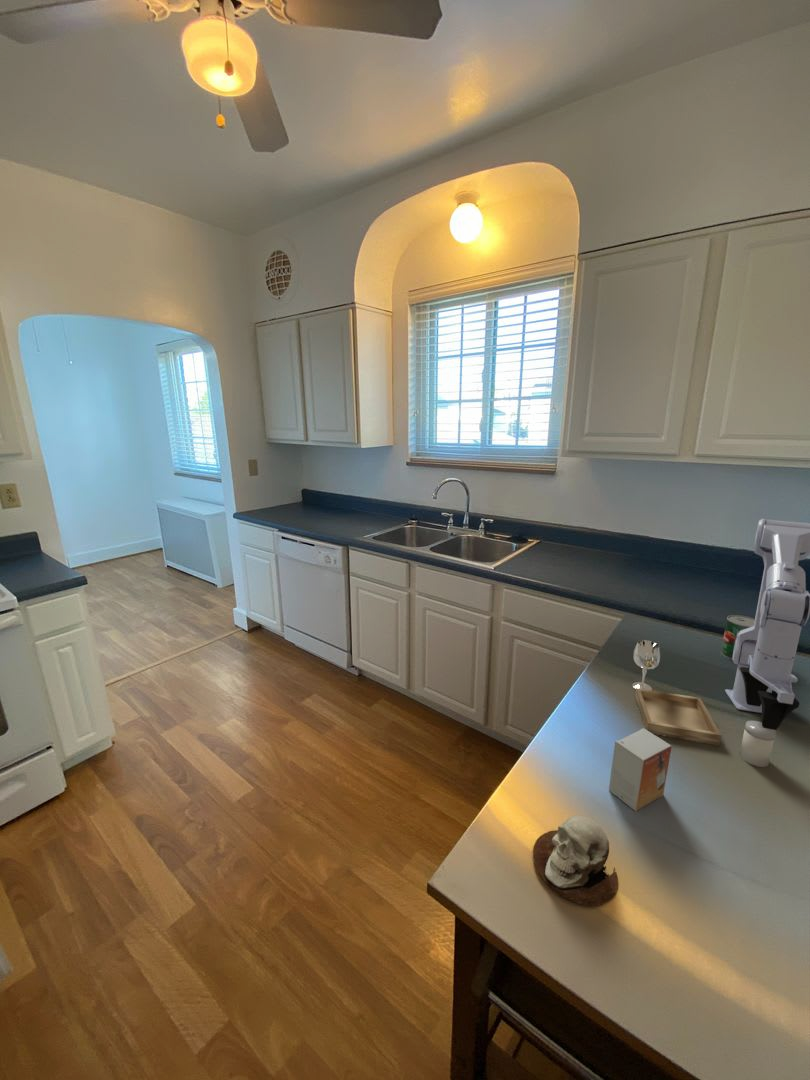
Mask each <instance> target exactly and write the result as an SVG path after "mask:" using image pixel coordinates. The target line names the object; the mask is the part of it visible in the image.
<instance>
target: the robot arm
mask: <svg viewBox="0 0 810 1080" xmlns="http://www.w3.org/2000/svg"><path fill="white" fill-rule="evenodd" d="M753 550H754V554H756V555H757V556H760V557H762V561H763V565H764V569H763V573H762V578H761V584H760V590H759V596H758V600H757V601H758V602H757V606H756V612H755V618H754V619H755V622H754V626H752V627H750V628H747V629H744V630H741V631H740V632H739V633H738V634H737V639H736V641H735V645H734V651H733V658H732V660H731V661H732V662H733V663H734V664H735V665H737V668H736V674H735V678H734V679H735V680H734V684H733V688H732V689H727V688H726V689H725V690H724V691H725V693H726V694H727V697H729V699H730V701H731V702H732V703H733V705H734V707H735V709H737V710H739V711H740V710H741V711H746V712H754V713H760V714H761V717H760V719H761V721H760V722H762V726H763V728H767V729H773V730H775V731H776V730H778V729H779V727H780V725H781V724H782V723H783V721H784V720H785V718H786V717H787V716H788V715H789V714H790V713H791V712H792V711H794V710H796V709H798V708H799V706H800V702H799V700H798V699H796V698H795V696H796V695H795V693H794V692H793V687H792V683H798V677H796V675H794V674H792V671H793V667H794V662H795V658H796V653H797V650H798V645H799V641H800V636H801V632H802V627H803V626H806V624H807V622H808V621H809V618H810V592H809V590H806V589H807V587H806V586H807V585H806V584H807V583H806V582H807V581H806V578H807V577H806V571H805V570H804V568H803V567H802V566H800V565H799V561H804V560H806V559H807V557H808V556H810V522H809V523H808V522H801V521H800V522H798V521H785V520H774V519H768V518H767V519H766V518H761V519H760V520H758V523H757V527H756V532H755V538H754V546H753ZM748 639H750V640H748ZM751 640H756V641H757V642H755V641H751Z"/></svg>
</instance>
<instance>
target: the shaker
mask: <svg viewBox="0 0 810 1080" xmlns="http://www.w3.org/2000/svg"><path fill="white" fill-rule="evenodd" d="M776 734H777V732H776V730H773V729H767V728H763V726H762V722H761V721H757V720H747V721H746V722H745V725H744V731H743V736H742V739H741V746H740V750H739V756H740V758H741V759H742V760H744V761H745V762H746V763H748V764H750V765H752V766H754V767H757V768H758V767H759V768H765V767H768V766H769V764H770V759H771V754H772V751H773V747H774V742H775V739H776Z"/></svg>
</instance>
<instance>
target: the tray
mask: <svg viewBox="0 0 810 1080" xmlns="http://www.w3.org/2000/svg"><path fill="white" fill-rule="evenodd" d="M634 699H636V700H635V703H636V702H637V703H636V705H638V706H637V708H639V709H638V712H639V711H640V712H639V715H640V714H641V715H640V718H641V720H642V724H643V728H644V729H646V730H647V731H649V732H651V733H652V734H659V735H658V736H660V735H665V736H664V737H666V736H669V737H668V738H672V737H675V738H674V739H677V738H680V740H683V739H684V741H689V740H690V742H696V743H701V744H707V745H713V746H720V745H721V741H722V734H721V731H720V730H719V729H718V726H717V725H716V723H715V722H714V719H713V717H712V716H711V714H710V712H709V711H708V709H707V707H706V705H705V704H704V702H703V701H702V698H701V697H697V696H692V695H691V696H690V695H684V694H678V693H671V692H665V691H664V692H663V691H658V690H652V691H651V690H644V689H638V688H636V689H635V693H634Z"/></svg>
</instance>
